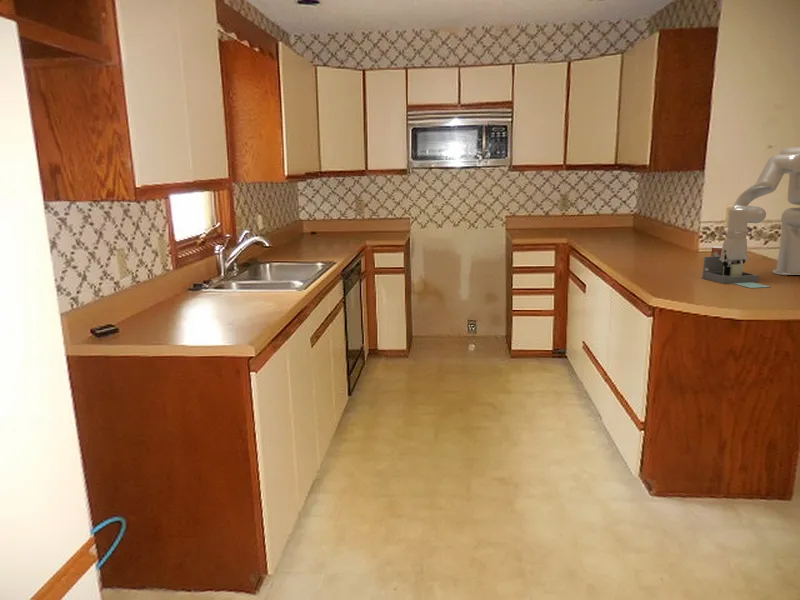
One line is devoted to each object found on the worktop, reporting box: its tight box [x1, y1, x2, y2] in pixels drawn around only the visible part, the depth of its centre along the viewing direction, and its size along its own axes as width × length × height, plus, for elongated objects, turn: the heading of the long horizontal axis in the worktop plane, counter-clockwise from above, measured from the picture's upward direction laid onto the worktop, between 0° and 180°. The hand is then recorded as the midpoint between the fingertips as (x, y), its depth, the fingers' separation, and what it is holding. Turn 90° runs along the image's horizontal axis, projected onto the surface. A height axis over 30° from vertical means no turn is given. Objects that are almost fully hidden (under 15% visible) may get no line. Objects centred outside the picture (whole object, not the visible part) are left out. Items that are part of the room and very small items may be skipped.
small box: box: [710, 245, 723, 257], centre depth 288 cm, size 8×6×13 cm
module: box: [722, 262, 744, 277], centre depth 273 cm, size 5×6×6 cm
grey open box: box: [701, 256, 760, 285], centre depth 273 cm, size 18×15×10 cm
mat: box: [732, 282, 771, 289], centre depth 262 cm, size 10×10×1 cm
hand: (732, 274), depth 273 cm, fingers closed on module, 5 cm apart
